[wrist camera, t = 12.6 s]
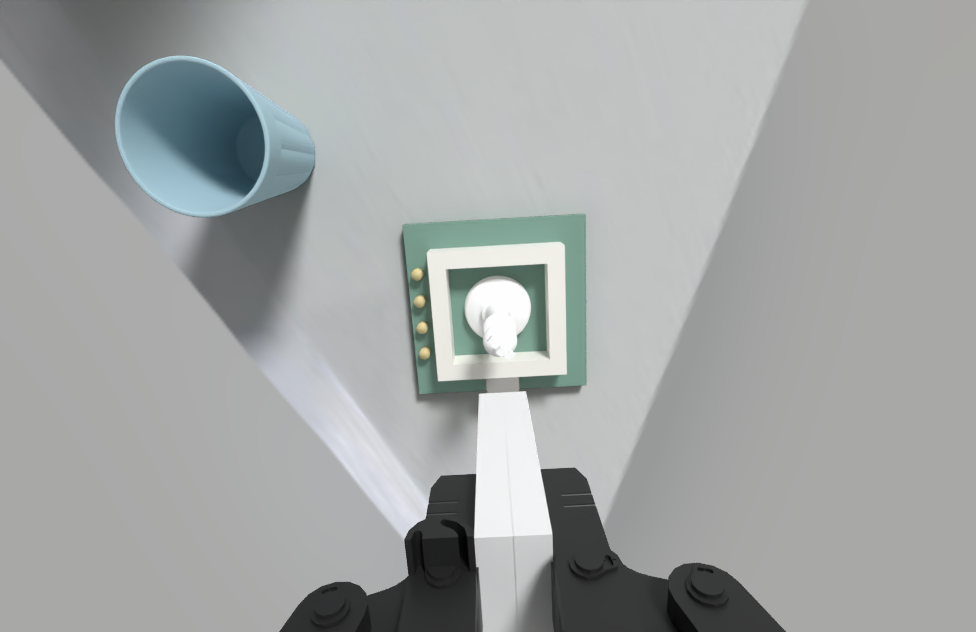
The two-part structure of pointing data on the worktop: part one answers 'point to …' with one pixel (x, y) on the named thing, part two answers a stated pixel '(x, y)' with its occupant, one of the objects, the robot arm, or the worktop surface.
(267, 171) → the cup
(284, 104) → the worktop surface
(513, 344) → the chess piece
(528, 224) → the header board
